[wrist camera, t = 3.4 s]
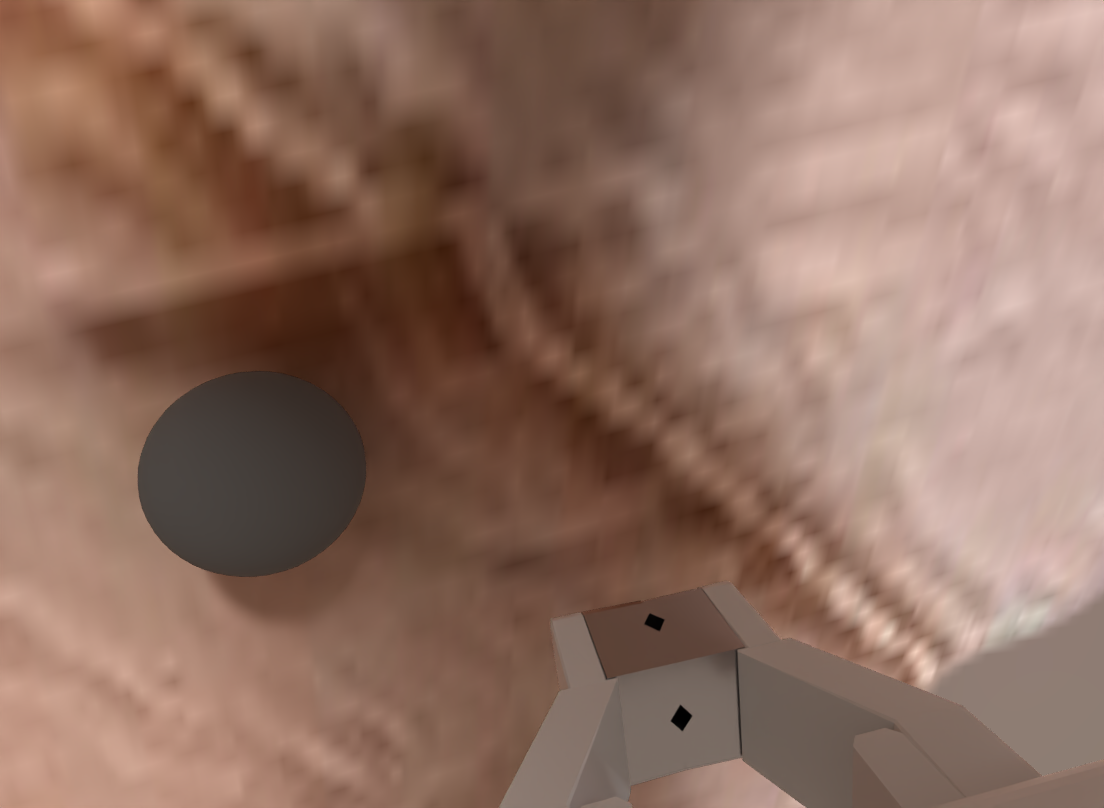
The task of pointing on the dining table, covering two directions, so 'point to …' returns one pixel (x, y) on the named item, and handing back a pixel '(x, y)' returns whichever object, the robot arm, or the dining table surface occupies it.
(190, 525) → the dark grey ball
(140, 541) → the dining table surface
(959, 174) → the dining table surface
